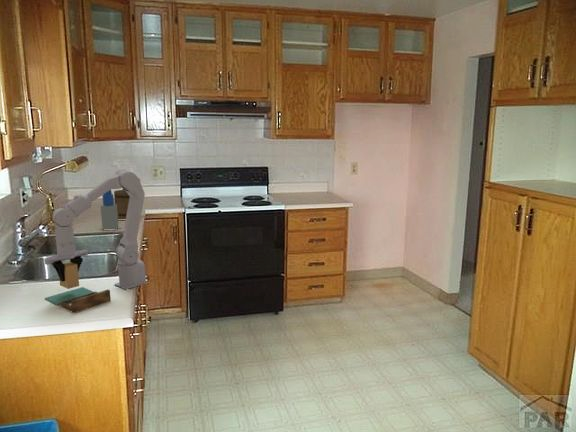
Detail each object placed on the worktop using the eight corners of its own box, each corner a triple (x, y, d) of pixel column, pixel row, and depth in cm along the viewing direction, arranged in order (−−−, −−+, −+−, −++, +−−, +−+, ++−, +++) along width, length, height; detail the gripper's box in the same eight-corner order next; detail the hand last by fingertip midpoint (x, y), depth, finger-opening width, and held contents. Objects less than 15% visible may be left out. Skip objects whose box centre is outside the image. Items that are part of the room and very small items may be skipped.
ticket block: (70, 282, 165) (68, 261, 164) (79, 285, 162) (77, 264, 160) (60, 285, 162) (57, 263, 161) (68, 288, 159) (66, 267, 157)
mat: (82, 288, 171) (82, 287, 171) (96, 293, 165) (95, 292, 165) (44, 299, 160) (44, 298, 160) (57, 305, 154) (57, 304, 154)
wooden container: (143, 218, 298) (141, 185, 293) (122, 221, 287) (120, 187, 282) (132, 215, 307) (129, 183, 303) (111, 218, 296) (108, 185, 292)
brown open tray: (95, 294, 165) (95, 284, 164) (110, 300, 159) (109, 290, 158) (59, 305, 154) (58, 294, 154) (73, 313, 148) (72, 301, 148)
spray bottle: (102, 228, 269) (99, 186, 264) (118, 226, 272) (115, 185, 267) (102, 231, 261) (98, 188, 256) (118, 230, 264) (115, 187, 259)
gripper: (49, 248, 151) (53, 287, 153) (90, 240, 162) (94, 276, 165) (39, 245, 155) (44, 282, 158) (80, 237, 166) (84, 272, 169)
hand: (68, 279), depth 161 cm, fingers closed on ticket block, 4 cm apart
